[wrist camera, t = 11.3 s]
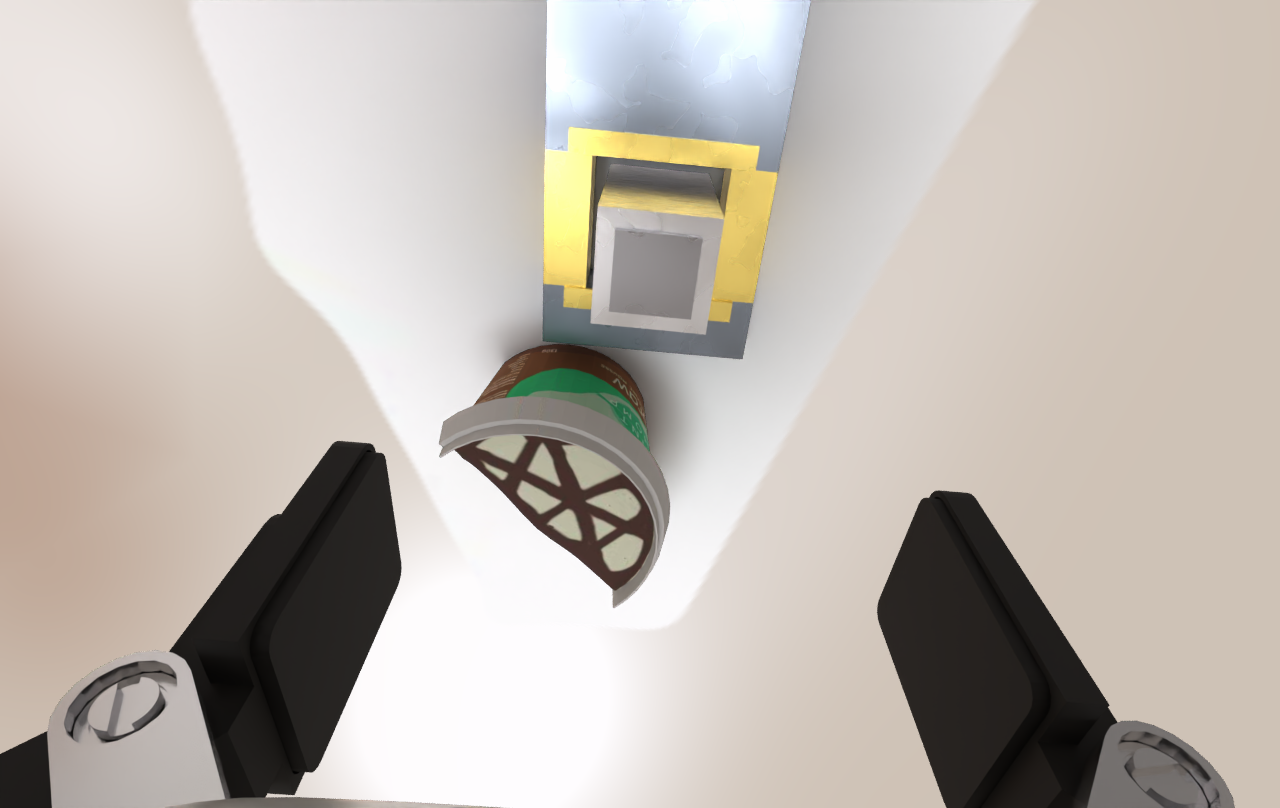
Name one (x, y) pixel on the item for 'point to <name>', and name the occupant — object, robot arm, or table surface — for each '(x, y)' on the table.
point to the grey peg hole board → (665, 140)
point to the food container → (571, 458)
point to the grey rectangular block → (656, 249)
